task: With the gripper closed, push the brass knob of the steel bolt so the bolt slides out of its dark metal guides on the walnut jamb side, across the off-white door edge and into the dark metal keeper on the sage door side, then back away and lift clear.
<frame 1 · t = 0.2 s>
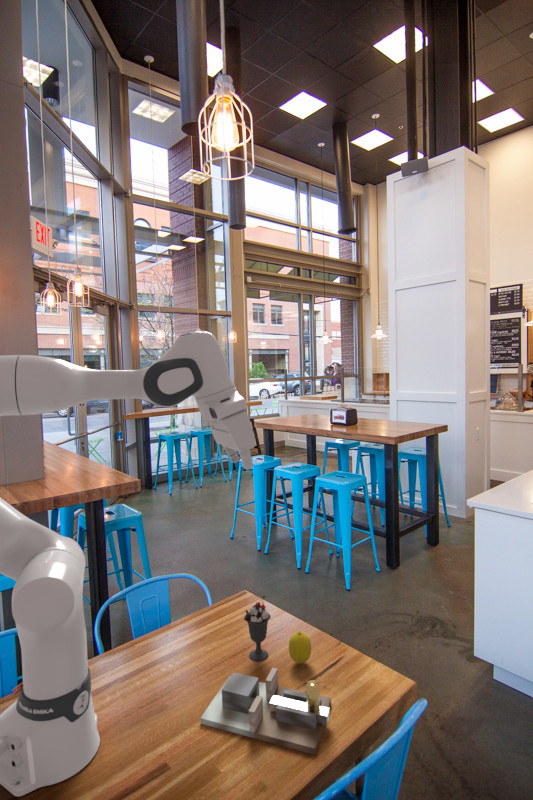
hand: (242, 464, 94), 52 cm above the table, tool tilted 20°, fingers open, 8 cm apart
lock board: (267, 713, 92), on the table
bolt: (298, 697, 89), point 5 cm above the table, slide at 0.0 cm
sundae: (258, 656, 112), on the table
lemon: (300, 664, 108), on the table
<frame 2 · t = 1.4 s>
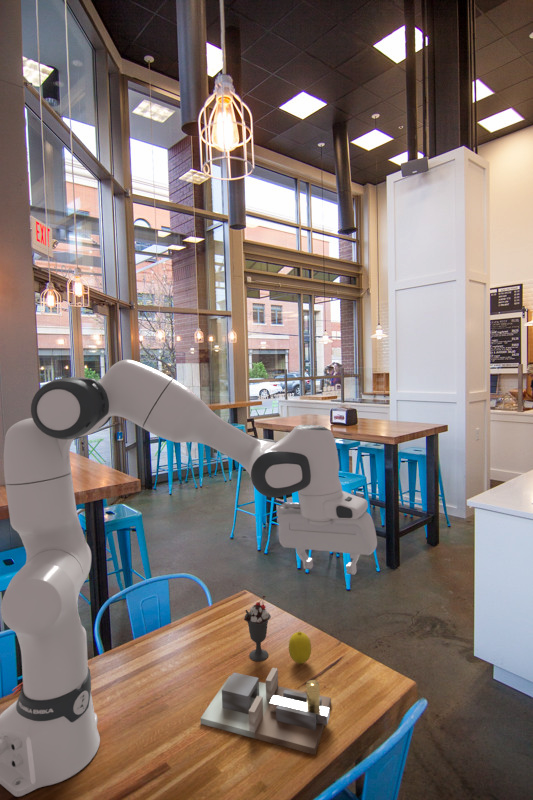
hand: (329, 570, 89), 31 cm above the table, tool pointing down, fingers open, 8 cm apart
nothing on the table moved.
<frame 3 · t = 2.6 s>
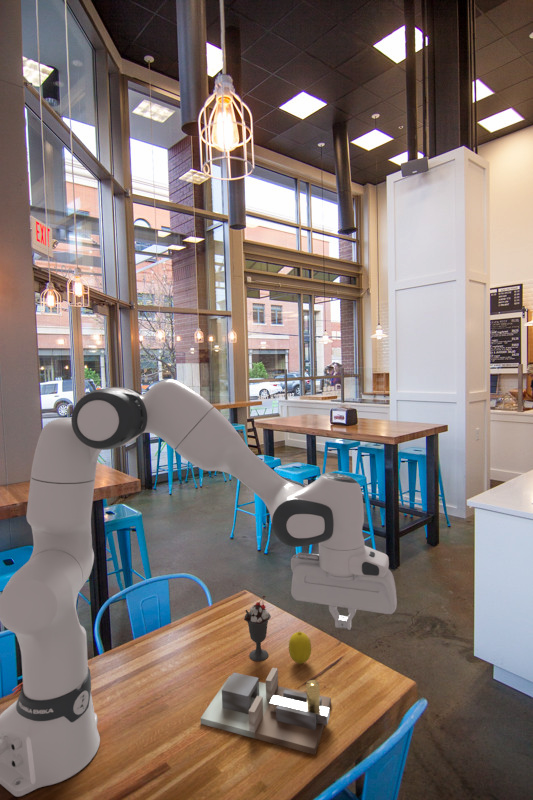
hand: (343, 627, 85), 21 cm above the table, tool pointing down, fingers closed
nothing on the table moved.
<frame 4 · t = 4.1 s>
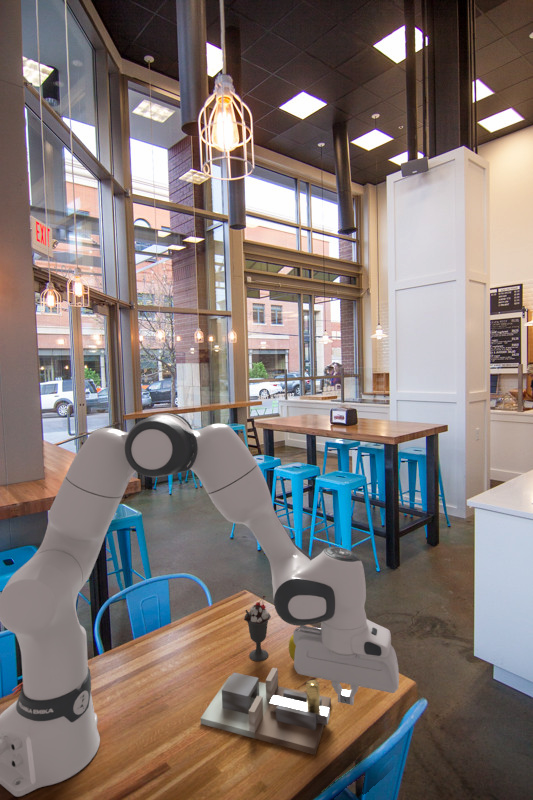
hand: (346, 701, 86), 6 cm above the table, tool pointing down, fingers closed
nothing on the table moved.
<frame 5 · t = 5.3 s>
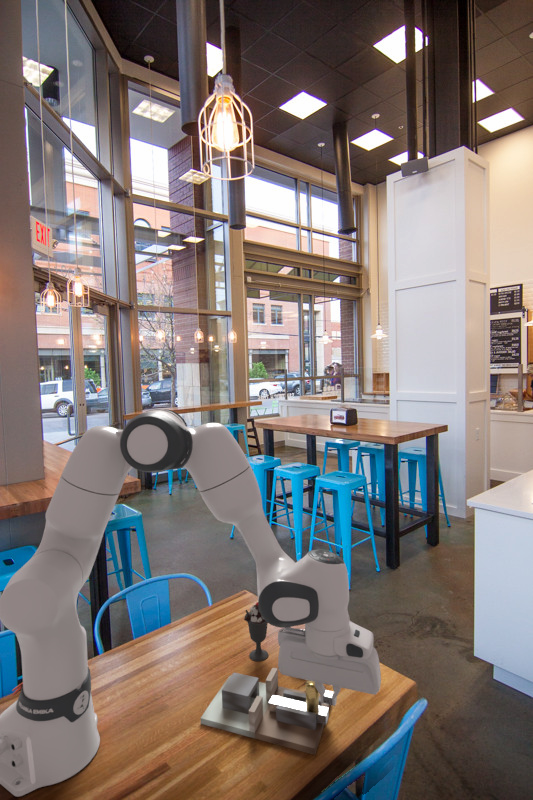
hand: (328, 702, 87), 5 cm above the table, tool pointing down, fingers closed
bolt: (298, 697, 89), point 5 cm above the table, slide at 0.2 cm, touching gripper
everything else where it was.
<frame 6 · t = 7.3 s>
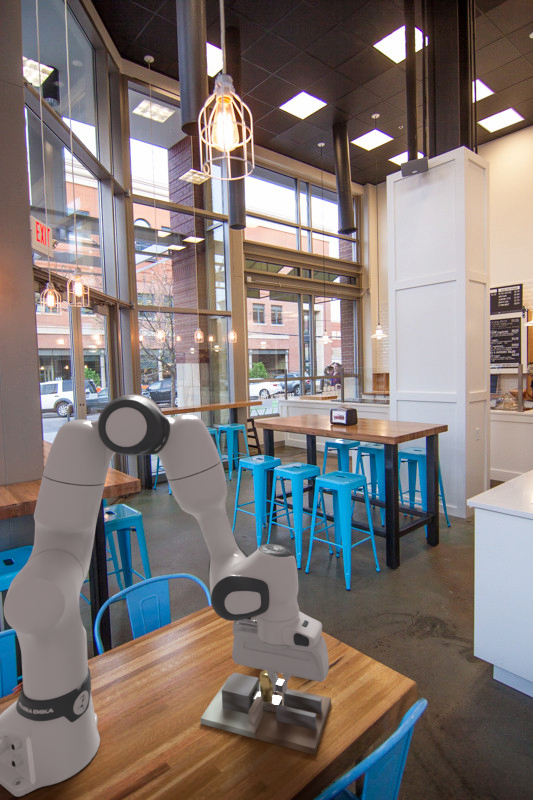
hand: (280, 690, 90), 6 cm above the table, tool pointing down, fingers closed
bolt: (253, 687, 93), point 5 cm above the table, slide at 10.1 cm, touching gripper
everything else where it was.
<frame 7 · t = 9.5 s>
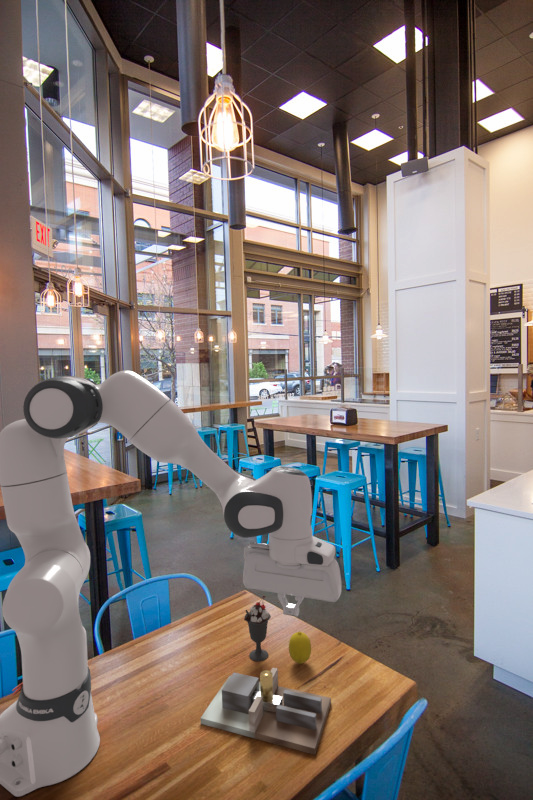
hand: (291, 614, 89), 22 cm above the table, tool pointing down, fingers closed
bolt: (253, 687, 93), point 5 cm above the table, slide at 10.0 cm
everything else where it was.
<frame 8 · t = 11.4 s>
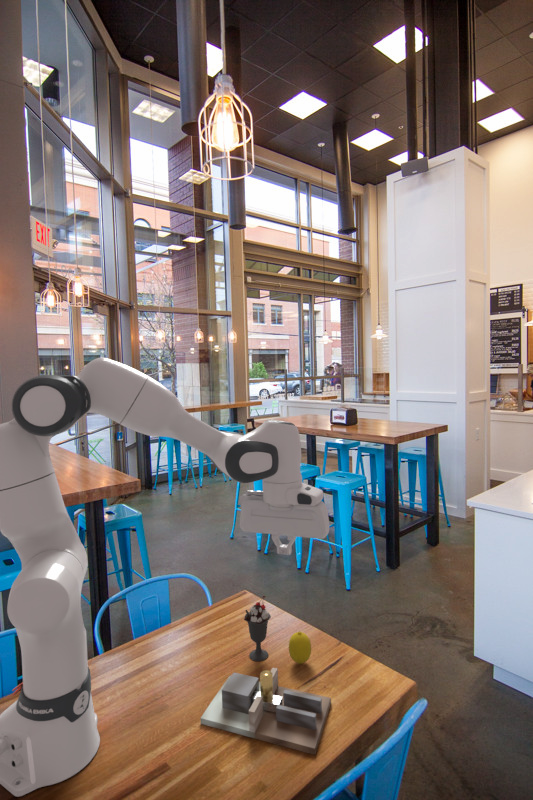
hand: (284, 553, 98), 31 cm above the table, tool pointing down, fingers closed
nothing on the table moved.
at the end: bolt slide at 10.0 cm; the gripper is holding nothing; lemon moved 0.2 cm from its start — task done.
